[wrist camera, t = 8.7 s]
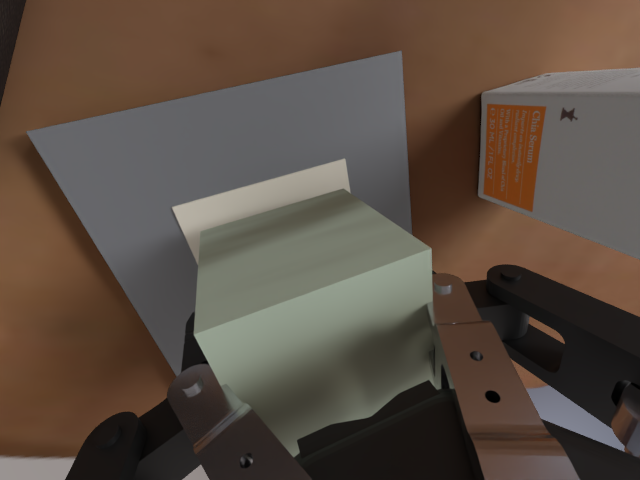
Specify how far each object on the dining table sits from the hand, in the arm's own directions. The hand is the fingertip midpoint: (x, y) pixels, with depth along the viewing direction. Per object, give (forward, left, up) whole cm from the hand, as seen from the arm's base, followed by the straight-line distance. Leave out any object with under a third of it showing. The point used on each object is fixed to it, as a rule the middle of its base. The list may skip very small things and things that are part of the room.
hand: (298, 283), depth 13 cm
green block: (0, 0, -1) cm, 1 cm away
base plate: (0, 0, -4) cm, 4 cm away
